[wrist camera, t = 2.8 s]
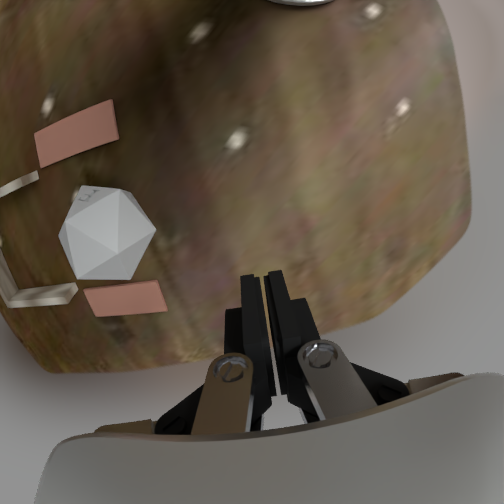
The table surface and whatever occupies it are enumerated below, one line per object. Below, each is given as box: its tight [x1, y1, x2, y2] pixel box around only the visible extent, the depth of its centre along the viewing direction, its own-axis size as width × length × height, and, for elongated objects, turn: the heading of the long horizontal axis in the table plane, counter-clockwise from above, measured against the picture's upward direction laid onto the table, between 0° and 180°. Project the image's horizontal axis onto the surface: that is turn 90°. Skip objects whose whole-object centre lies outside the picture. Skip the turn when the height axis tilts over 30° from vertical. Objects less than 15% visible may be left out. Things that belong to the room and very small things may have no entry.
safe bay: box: [0, 171, 78, 308], centre depth 24 cm, size 13×15×3 cm
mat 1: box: [34, 99, 119, 168], centre depth 21 cm, size 10×4×1 cm, turn 98°
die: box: [58, 186, 156, 280], centre depth 22 cm, size 8×9×10 cm
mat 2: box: [83, 280, 168, 317], centre depth 29 cm, size 10×4×1 cm, turn 98°
